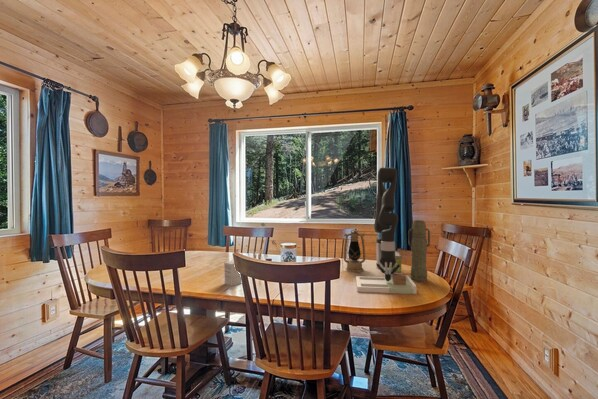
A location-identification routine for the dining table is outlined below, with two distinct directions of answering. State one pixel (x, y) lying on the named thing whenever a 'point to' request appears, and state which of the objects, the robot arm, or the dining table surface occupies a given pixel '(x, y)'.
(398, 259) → the tea box
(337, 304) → the dining table surface
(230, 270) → the supplement box
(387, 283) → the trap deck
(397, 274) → the walnut block
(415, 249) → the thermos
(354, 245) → the lantern
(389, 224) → the robot arm
